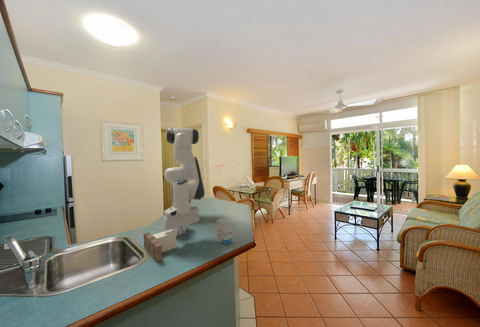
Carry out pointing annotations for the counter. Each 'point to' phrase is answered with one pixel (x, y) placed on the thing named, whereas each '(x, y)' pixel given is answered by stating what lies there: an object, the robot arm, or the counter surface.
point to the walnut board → (153, 246)
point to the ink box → (224, 231)
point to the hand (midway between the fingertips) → (182, 233)
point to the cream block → (166, 239)
